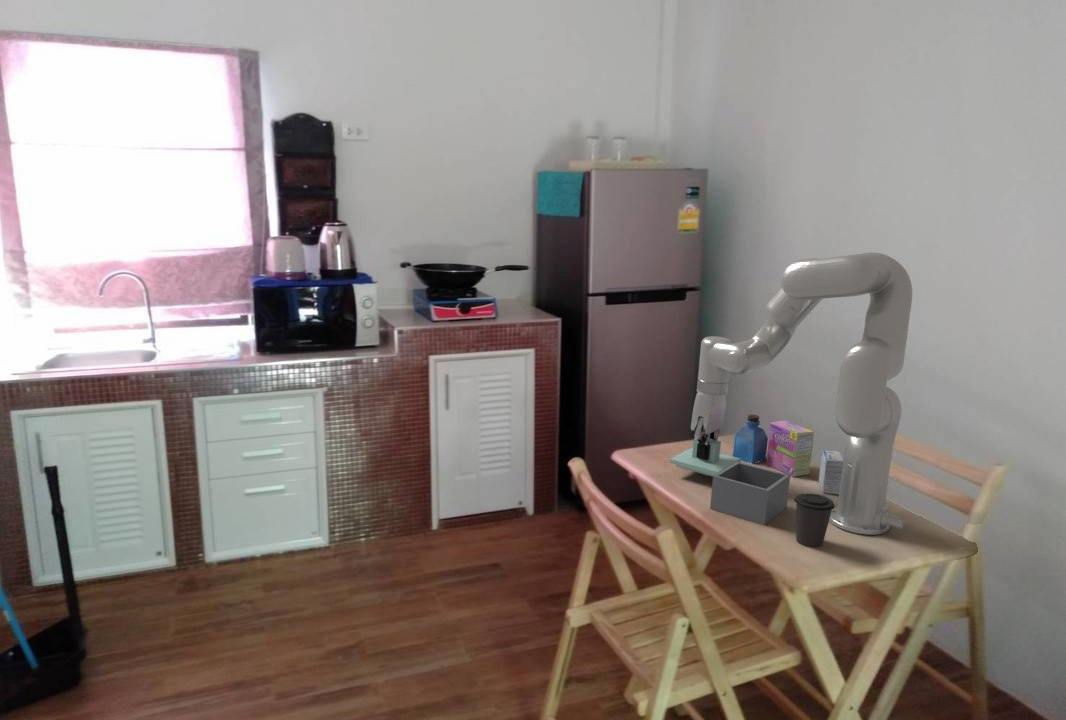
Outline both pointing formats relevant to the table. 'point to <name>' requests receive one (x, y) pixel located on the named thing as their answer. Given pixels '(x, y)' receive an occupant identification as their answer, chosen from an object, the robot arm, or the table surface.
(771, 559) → the table surface
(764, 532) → the table surface
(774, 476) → the parts tub
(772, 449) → the box
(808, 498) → the coffee cup
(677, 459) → the lid
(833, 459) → the medicine box
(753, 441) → the perfume bottle
